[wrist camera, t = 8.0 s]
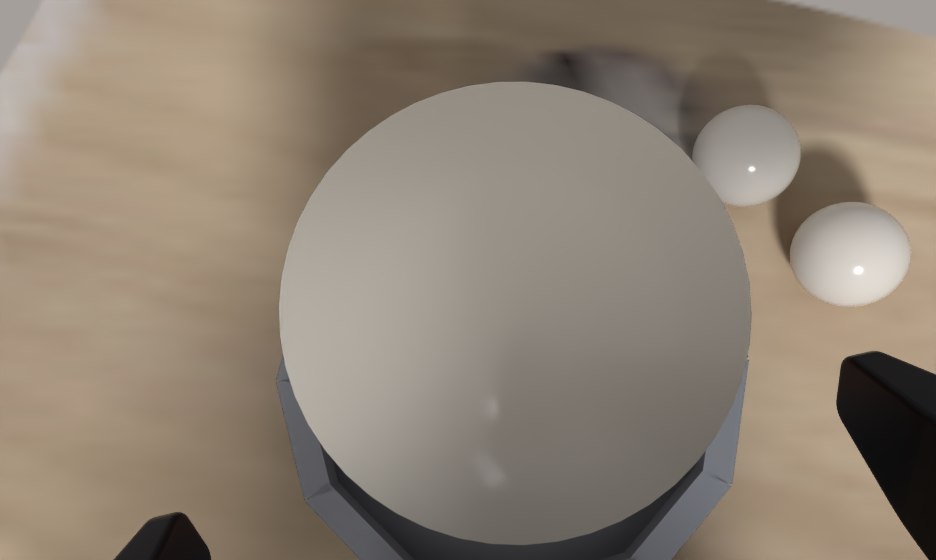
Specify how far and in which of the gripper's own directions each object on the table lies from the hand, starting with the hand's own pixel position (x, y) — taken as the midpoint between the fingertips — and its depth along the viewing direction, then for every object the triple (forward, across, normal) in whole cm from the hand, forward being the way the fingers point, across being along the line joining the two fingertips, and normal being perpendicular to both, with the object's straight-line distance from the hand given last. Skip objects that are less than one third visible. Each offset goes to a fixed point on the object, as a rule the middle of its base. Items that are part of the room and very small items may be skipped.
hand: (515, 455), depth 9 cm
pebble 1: (+12, -9, +3) cm, 16 cm away
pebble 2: (+10, -11, +6) cm, 16 cm away
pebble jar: (+9, 0, +6) cm, 11 cm away
